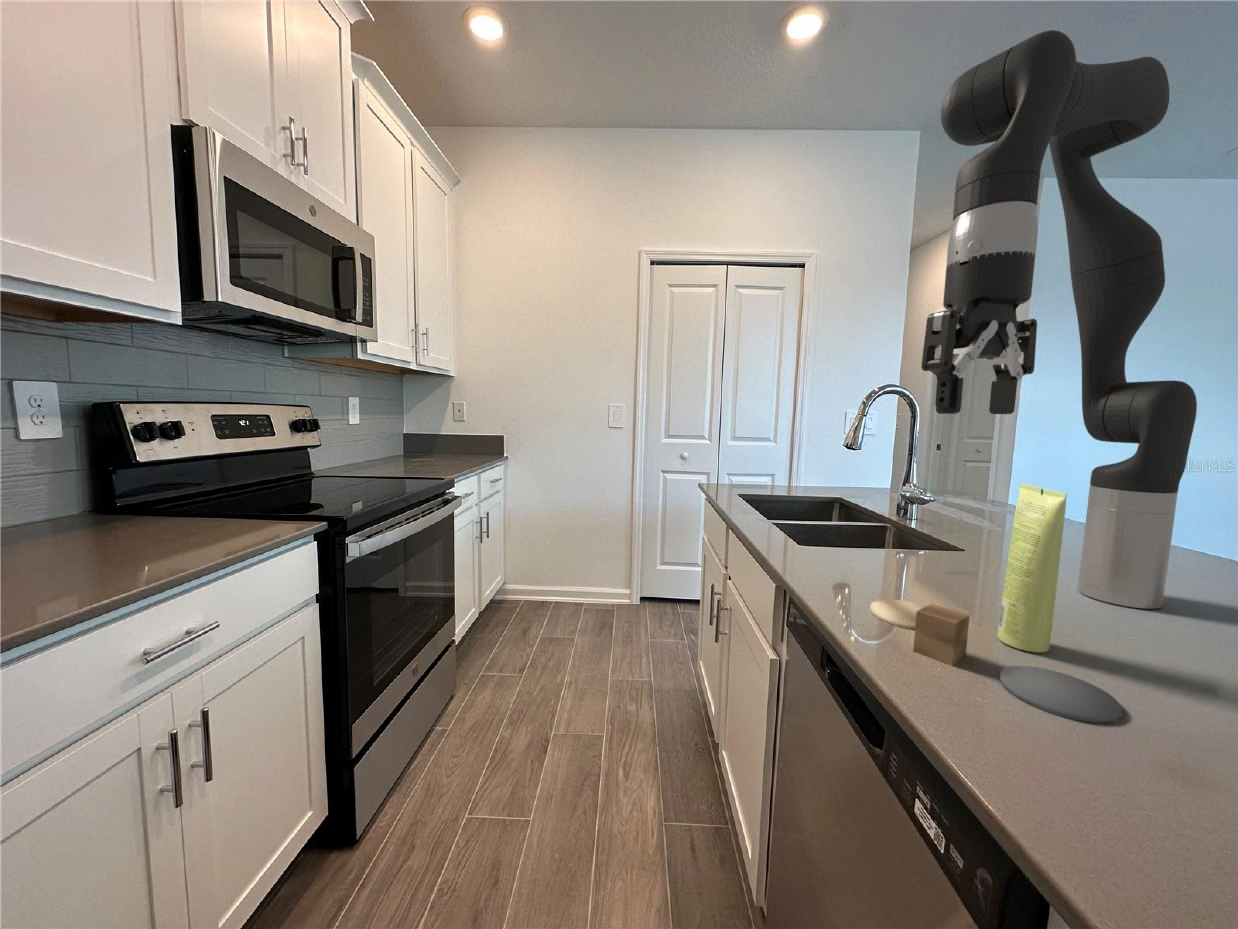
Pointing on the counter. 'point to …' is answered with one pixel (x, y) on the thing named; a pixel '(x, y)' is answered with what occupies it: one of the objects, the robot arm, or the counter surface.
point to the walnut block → (941, 634)
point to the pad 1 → (896, 612)
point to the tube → (1032, 569)
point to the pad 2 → (1060, 694)
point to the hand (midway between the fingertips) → (975, 413)
